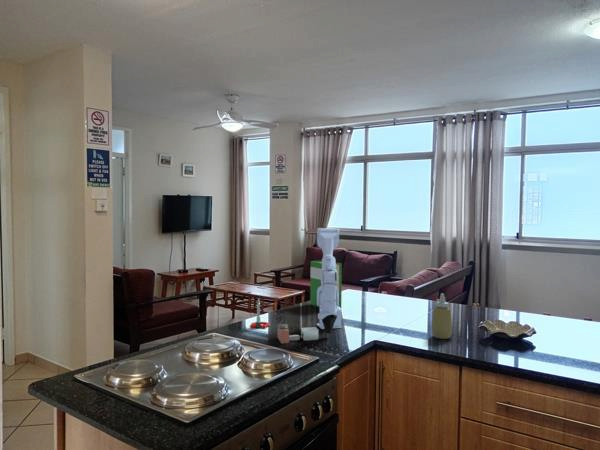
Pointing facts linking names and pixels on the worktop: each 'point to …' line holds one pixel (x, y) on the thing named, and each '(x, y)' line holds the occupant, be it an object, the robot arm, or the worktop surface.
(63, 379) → the worktop surface
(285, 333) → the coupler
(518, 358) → the worktop surface
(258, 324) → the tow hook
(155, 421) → the worktop surface
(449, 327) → the squeeze bottle
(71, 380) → the worktop surface
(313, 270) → the hardback book
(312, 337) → the lock block
